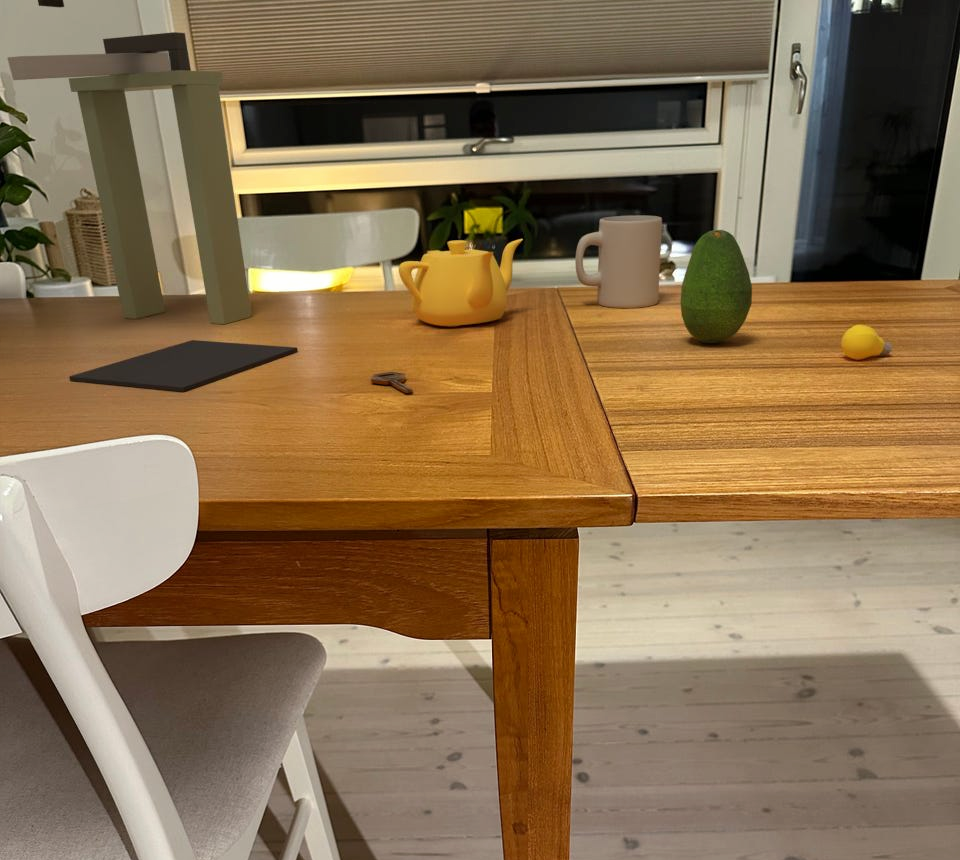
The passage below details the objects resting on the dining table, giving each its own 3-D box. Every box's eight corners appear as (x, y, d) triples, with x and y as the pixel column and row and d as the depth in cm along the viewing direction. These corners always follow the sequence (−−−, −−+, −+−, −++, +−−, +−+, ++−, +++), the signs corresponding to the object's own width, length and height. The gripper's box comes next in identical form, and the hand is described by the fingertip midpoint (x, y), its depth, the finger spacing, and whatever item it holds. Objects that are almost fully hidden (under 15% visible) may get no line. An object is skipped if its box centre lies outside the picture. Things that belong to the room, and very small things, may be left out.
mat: (69, 380, 104) (68, 376, 104) (193, 344, 120) (192, 339, 119) (183, 392, 98) (182, 387, 97) (297, 351, 113) (297, 347, 113)
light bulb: (831, 358, 100) (837, 323, 100) (875, 369, 102) (880, 335, 102) (854, 354, 97) (860, 318, 97) (899, 365, 99) (905, 330, 99)
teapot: (494, 332, 119) (492, 247, 115) (395, 329, 123) (389, 246, 119) (524, 312, 131) (523, 234, 126) (432, 310, 135) (428, 234, 130)
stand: (118, 319, 137) (60, 39, 121) (157, 309, 144) (106, 42, 127) (220, 325, 130) (172, 28, 114) (256, 315, 136) (216, 32, 120)
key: (393, 395, 93) (393, 391, 92) (365, 379, 99) (365, 375, 99) (429, 390, 94) (429, 386, 94) (399, 374, 100) (398, 370, 100)
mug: (644, 296, 139) (648, 214, 134) (668, 305, 132) (672, 219, 126) (565, 302, 137) (566, 219, 131) (585, 312, 129) (587, 224, 124)
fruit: (662, 342, 111) (668, 230, 105) (712, 333, 114) (721, 224, 108) (711, 353, 105) (721, 235, 99) (762, 343, 108) (774, 228, 102)
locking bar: (12, 80, 108) (6, 57, 107) (159, 72, 126) (155, 53, 125) (26, 79, 107) (20, 56, 106) (172, 71, 125) (168, 52, 124)
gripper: (165, -286, 87) (204, -8, 98) (-4, -231, 99) (47, 12, 109) (98, -312, 82) (148, -14, 92) (-72, -251, 93) (-12, 8, 104)
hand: (93, 1), depth 101 cm, fingers open, 13 cm apart
